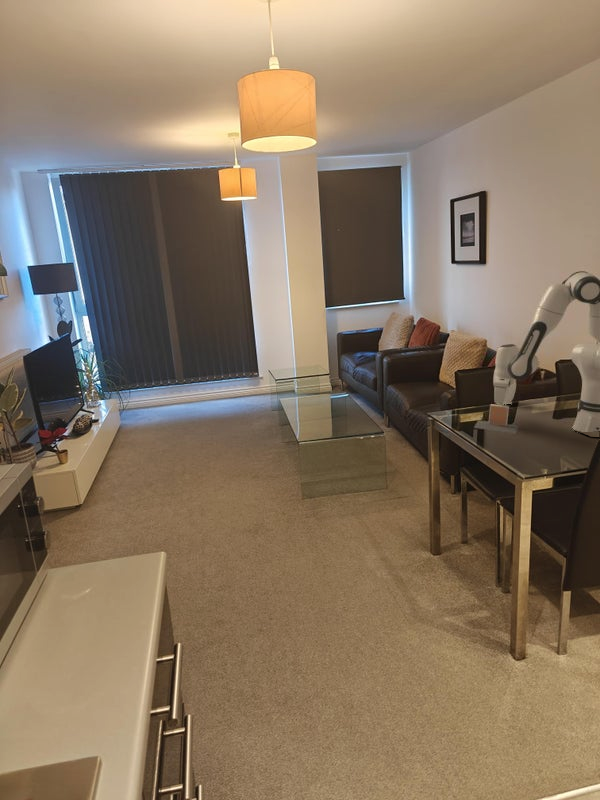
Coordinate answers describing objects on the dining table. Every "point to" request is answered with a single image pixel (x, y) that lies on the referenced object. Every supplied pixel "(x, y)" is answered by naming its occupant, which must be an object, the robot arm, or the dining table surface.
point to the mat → (496, 427)
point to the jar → (510, 393)
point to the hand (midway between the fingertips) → (500, 407)
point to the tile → (498, 414)
